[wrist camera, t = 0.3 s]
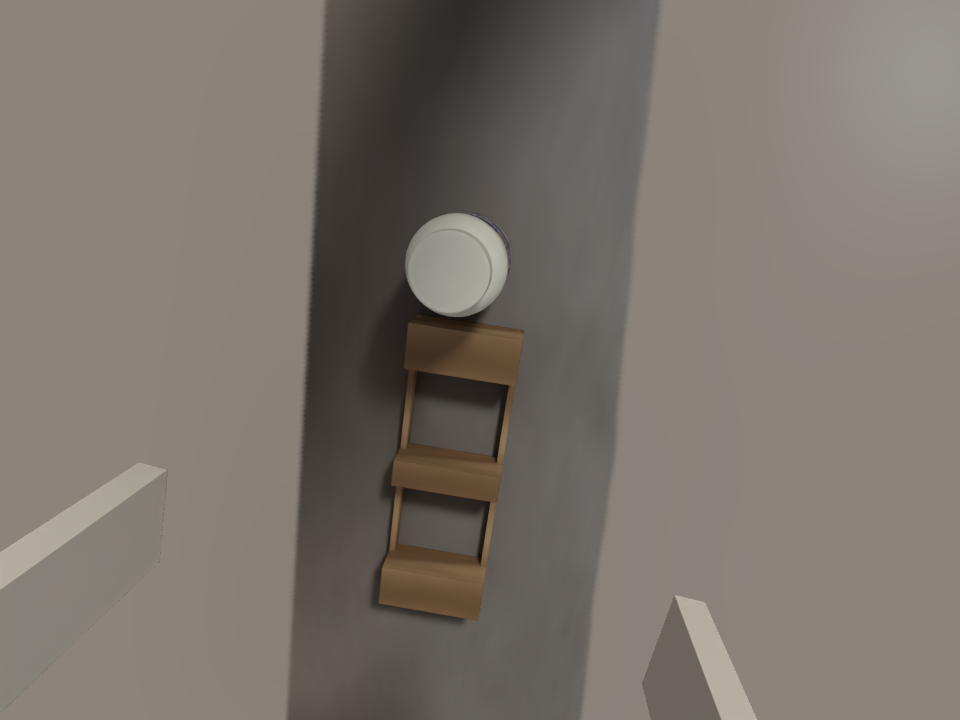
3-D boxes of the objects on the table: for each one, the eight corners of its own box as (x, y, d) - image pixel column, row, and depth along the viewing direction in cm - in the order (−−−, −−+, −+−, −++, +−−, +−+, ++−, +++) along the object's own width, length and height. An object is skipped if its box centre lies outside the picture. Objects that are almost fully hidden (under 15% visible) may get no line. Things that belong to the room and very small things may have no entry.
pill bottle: (529, 259, 37) (529, 278, 27) (466, 314, 38) (445, 350, 29) (472, 193, 36) (452, 188, 27) (410, 251, 37) (369, 266, 28)
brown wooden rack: (417, 314, 38) (408, 322, 35) (523, 330, 38) (522, 340, 35) (388, 576, 43) (378, 603, 41) (481, 593, 43) (477, 620, 40)
